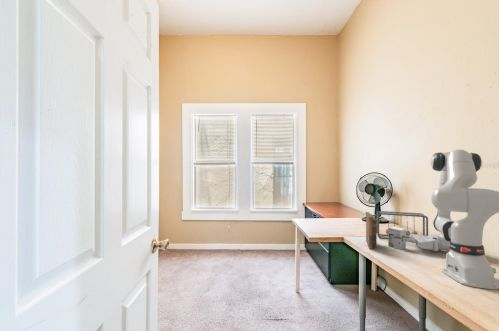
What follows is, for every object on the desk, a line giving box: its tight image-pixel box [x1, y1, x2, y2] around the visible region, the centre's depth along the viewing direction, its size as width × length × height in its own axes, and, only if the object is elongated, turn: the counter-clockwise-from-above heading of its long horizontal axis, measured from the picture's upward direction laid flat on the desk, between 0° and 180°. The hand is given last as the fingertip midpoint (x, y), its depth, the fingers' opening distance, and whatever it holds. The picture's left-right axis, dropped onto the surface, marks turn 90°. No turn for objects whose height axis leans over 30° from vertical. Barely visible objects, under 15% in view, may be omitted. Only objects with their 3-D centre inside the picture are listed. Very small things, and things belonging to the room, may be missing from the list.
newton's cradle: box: [375, 210, 429, 240], centre depth 184 cm, size 30×10×18 cm, turn 68°
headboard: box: [365, 211, 378, 250], centre depth 168 cm, size 20×5×19 cm, turn 161°
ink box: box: [387, 226, 407, 250], centre depth 163 cm, size 9×5×12 cm, turn 26°
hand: (406, 239), depth 162 cm, fingers closed
